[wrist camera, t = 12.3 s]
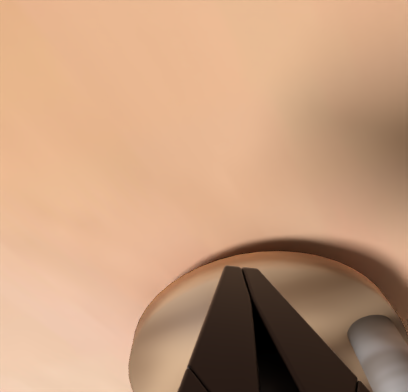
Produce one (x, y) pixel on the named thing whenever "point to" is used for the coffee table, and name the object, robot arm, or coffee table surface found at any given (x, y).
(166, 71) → the coffee table surface
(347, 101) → the coffee table surface
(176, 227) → the coffee table surface
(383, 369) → the turntable
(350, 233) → the coffee table surface
